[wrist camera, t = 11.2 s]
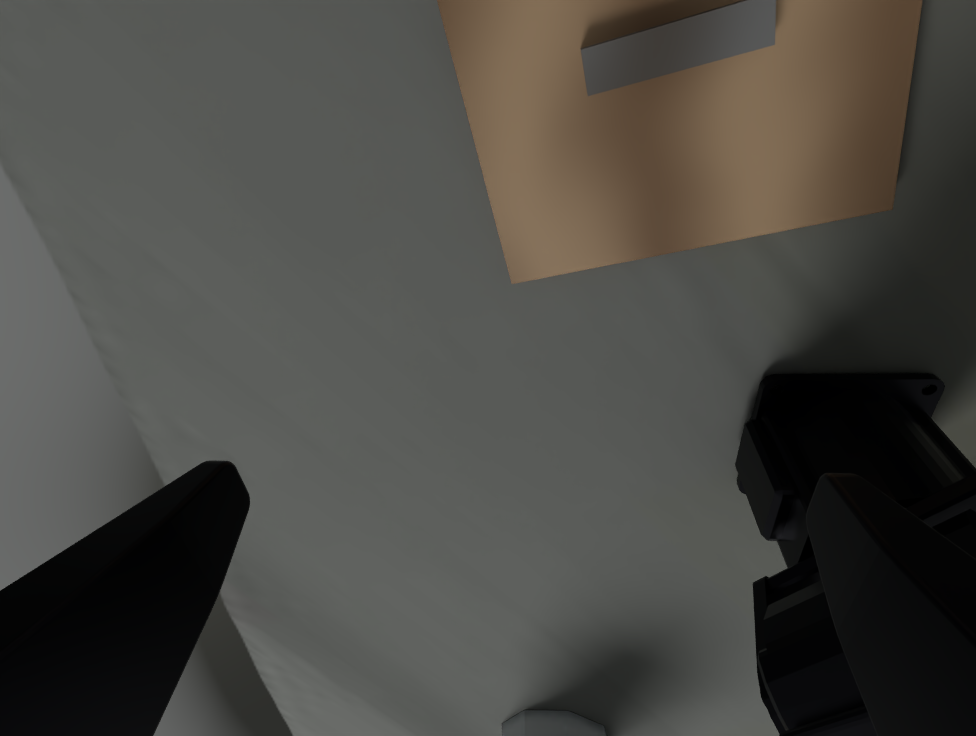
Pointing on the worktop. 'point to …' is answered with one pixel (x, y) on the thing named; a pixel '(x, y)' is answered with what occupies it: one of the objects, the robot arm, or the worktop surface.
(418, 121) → the worktop surface
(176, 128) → the worktop surface
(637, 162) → the lid
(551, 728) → the coffee maker
